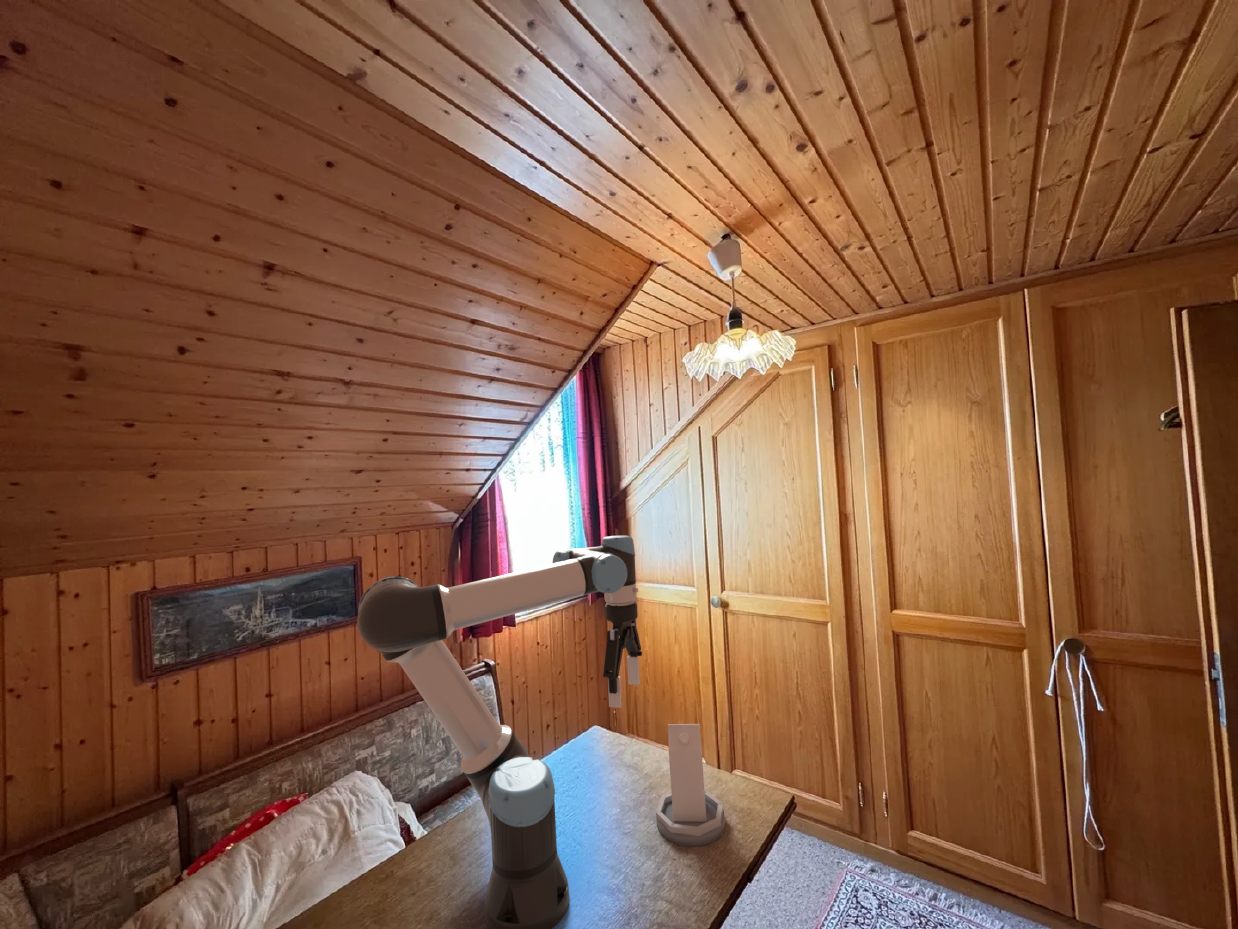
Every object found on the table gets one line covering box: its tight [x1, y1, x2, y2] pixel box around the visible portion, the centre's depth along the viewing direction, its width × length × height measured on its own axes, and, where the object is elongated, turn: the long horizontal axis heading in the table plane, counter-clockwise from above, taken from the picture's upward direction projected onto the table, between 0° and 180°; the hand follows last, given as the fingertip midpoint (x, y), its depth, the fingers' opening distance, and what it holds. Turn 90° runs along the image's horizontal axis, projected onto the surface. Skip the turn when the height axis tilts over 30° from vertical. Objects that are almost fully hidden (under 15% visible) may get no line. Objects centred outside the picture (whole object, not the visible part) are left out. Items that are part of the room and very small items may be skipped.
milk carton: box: [667, 723, 706, 822], centre depth 114 cm, size 7×7×19 cm
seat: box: [655, 790, 726, 847], centre depth 113 cm, size 15×15×3 cm
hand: (625, 695), depth 118 cm, fingers open, 13 cm apart
